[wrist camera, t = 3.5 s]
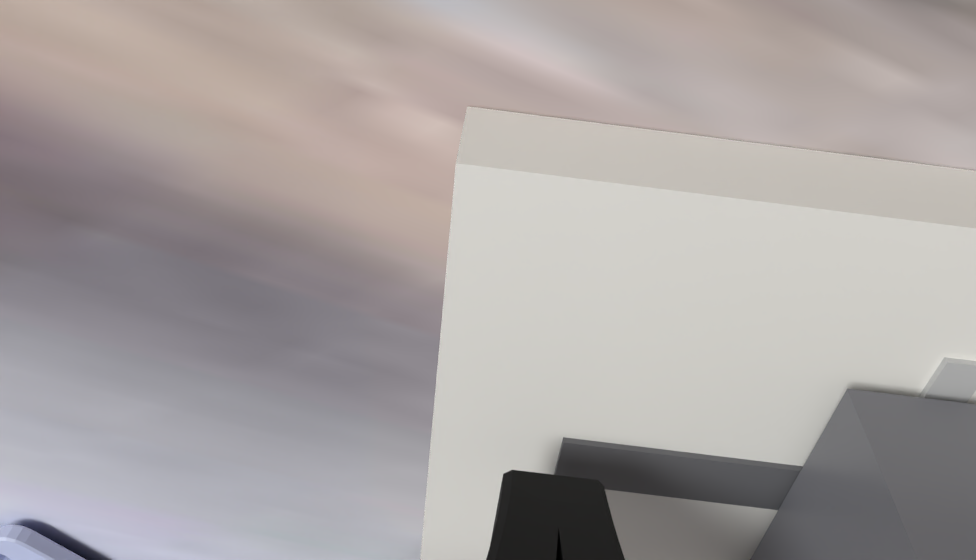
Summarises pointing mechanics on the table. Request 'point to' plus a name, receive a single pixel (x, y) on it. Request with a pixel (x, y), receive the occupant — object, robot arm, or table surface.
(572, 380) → the fader console
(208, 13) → the table surface
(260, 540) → the table surface
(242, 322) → the table surface
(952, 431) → the fader knob
